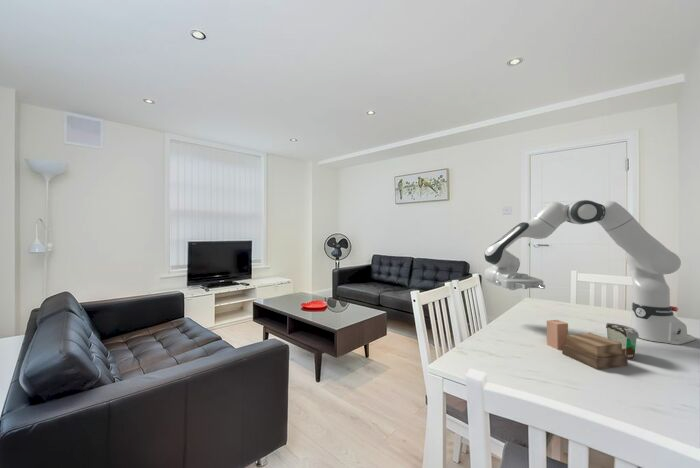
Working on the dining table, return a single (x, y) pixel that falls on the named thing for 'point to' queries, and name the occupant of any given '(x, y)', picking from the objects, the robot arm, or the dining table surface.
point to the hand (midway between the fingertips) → (535, 287)
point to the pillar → (557, 333)
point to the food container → (623, 337)
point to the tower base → (595, 359)
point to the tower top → (594, 345)
